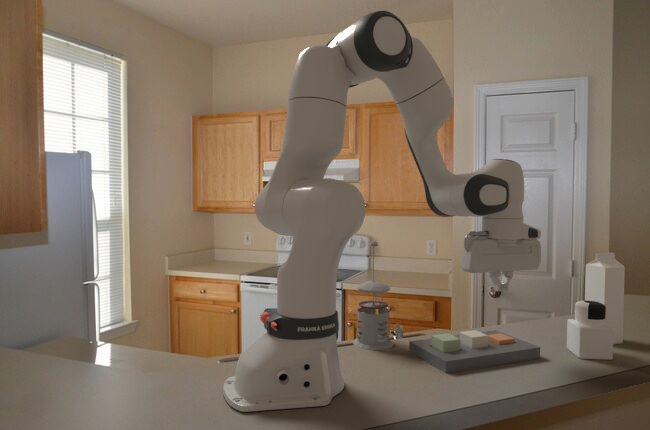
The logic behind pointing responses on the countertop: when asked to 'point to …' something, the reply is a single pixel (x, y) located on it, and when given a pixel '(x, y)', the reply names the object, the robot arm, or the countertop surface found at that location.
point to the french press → (373, 317)
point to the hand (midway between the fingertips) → (500, 290)
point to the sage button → (445, 343)
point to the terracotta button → (500, 339)
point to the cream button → (473, 339)
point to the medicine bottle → (590, 332)
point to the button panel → (474, 354)
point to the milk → (607, 289)
